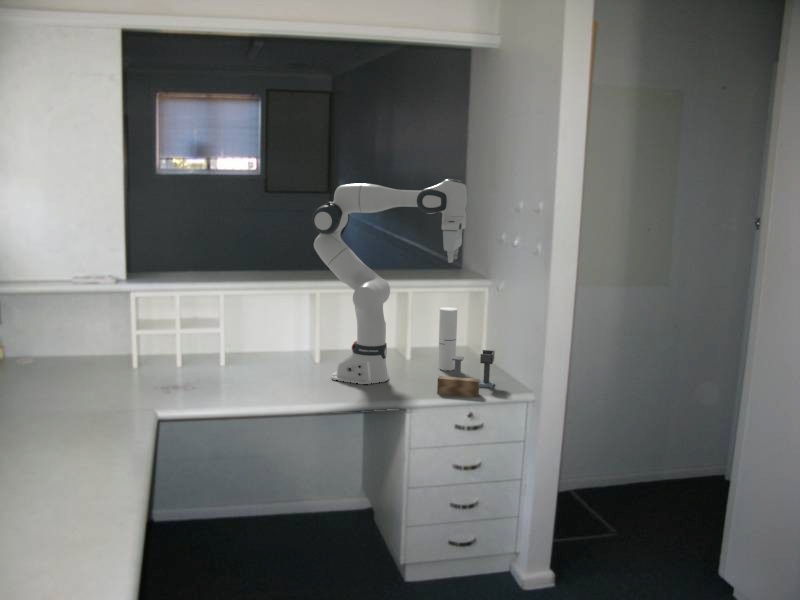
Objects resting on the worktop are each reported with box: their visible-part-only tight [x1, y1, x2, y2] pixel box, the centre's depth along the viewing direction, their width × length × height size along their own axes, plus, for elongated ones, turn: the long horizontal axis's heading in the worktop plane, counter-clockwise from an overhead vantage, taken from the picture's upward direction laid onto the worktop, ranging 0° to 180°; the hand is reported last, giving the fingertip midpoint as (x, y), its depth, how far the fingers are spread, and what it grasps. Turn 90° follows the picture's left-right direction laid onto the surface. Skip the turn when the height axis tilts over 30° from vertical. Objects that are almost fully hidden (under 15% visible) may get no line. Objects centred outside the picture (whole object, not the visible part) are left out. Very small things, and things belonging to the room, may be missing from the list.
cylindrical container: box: [437, 306, 458, 371], centre depth 328 cm, size 7×7×25 cm
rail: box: [436, 375, 481, 398], centre depth 295 cm, size 15×4×6 cm, turn 77°
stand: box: [452, 349, 495, 389], centre depth 307 cm, size 18×7×13 cm, turn 77°
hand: (452, 260), depth 297 cm, fingers open, 8 cm apart
